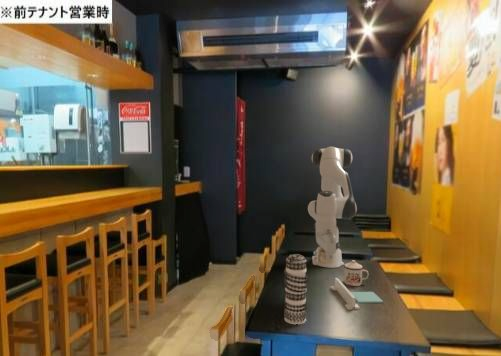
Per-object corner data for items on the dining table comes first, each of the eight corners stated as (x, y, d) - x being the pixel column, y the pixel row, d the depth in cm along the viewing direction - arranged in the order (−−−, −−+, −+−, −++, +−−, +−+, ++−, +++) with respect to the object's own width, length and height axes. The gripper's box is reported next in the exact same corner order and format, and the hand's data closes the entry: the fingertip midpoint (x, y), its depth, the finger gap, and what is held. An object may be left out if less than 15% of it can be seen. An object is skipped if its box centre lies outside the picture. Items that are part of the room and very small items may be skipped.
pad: (349, 293, 157) (349, 291, 157) (372, 293, 158) (372, 291, 158) (358, 302, 146) (358, 301, 146) (383, 302, 147) (383, 301, 147)
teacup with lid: (344, 285, 167) (344, 262, 166) (343, 279, 175) (343, 257, 175) (369, 287, 164) (370, 264, 164) (367, 281, 173) (367, 259, 173)
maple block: (318, 260, 153) (318, 249, 152) (329, 260, 153) (329, 249, 153) (321, 263, 148) (321, 252, 147) (332, 263, 148) (332, 252, 148)
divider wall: (331, 288, 163) (331, 278, 163) (341, 288, 163) (341, 277, 163) (347, 309, 139) (348, 297, 139) (359, 309, 139) (359, 297, 139)
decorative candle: (291, 311, 137) (292, 251, 135) (311, 318, 131) (312, 255, 130) (278, 319, 129) (279, 255, 128) (299, 327, 124) (300, 260, 123)
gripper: (340, 232, 139) (339, 265, 140) (326, 223, 160) (326, 252, 160) (325, 232, 139) (324, 265, 140) (313, 223, 159) (313, 252, 160)
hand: (325, 258), depth 150 cm, fingers closed on maple block, 5 cm apart
